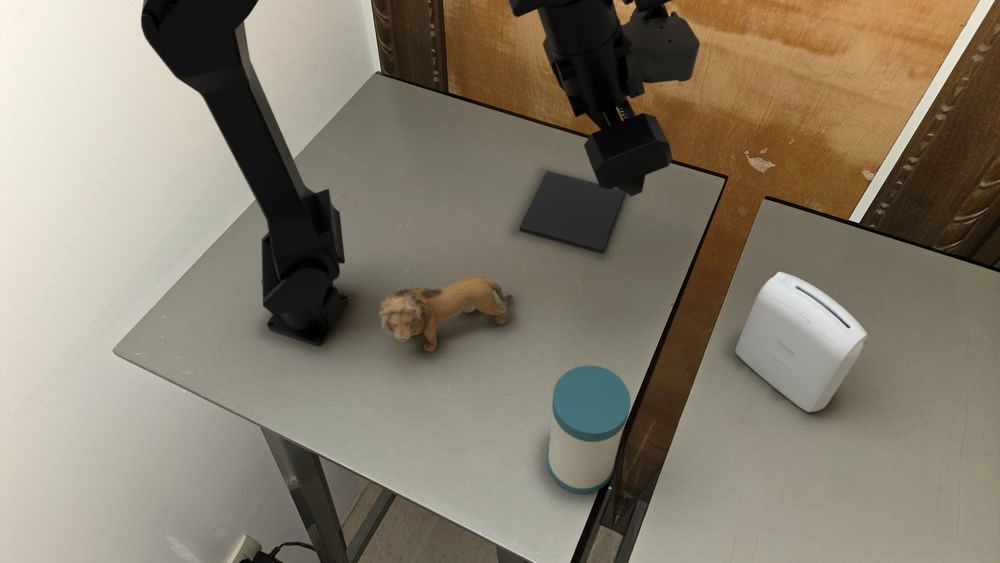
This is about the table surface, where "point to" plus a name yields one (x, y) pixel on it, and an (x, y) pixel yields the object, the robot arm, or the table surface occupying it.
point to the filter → (586, 428)
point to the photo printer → (800, 341)
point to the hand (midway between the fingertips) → (621, 159)
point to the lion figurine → (439, 307)
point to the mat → (573, 211)
